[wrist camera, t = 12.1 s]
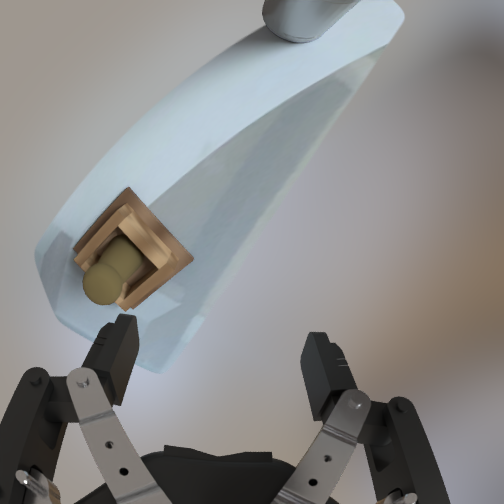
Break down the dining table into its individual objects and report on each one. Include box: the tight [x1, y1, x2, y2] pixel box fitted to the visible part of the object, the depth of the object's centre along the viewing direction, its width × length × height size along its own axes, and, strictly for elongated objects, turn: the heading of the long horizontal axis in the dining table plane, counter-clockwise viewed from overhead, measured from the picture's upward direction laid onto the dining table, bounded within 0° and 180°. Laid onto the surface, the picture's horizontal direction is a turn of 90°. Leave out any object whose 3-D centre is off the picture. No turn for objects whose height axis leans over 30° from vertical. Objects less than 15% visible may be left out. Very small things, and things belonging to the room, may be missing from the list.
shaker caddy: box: [73, 187, 194, 312], centre depth 38 cm, size 14×14×4 cm
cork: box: [82, 234, 144, 305], centre depth 35 cm, size 6×6×11 cm
